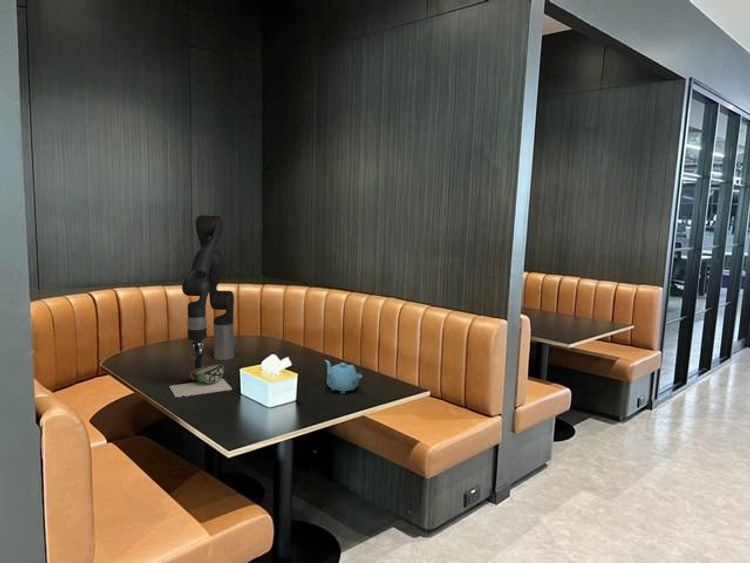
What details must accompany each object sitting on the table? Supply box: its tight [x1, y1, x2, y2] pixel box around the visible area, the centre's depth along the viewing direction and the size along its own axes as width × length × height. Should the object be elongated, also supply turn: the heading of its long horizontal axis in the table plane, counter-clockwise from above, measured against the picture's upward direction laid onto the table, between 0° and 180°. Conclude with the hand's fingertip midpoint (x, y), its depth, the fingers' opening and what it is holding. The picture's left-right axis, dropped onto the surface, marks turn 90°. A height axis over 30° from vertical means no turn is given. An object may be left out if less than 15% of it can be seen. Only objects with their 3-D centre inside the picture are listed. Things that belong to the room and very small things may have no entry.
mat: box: [168, 378, 233, 398], centre depth 224 cm, size 14×22×1 cm, turn 120°
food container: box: [188, 363, 225, 384], centre depth 230 cm, size 12×6×10 cm
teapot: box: [324, 359, 363, 395], centre depth 225 cm, size 15×14×11 cm
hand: (197, 368), depth 226 cm, fingers closed
